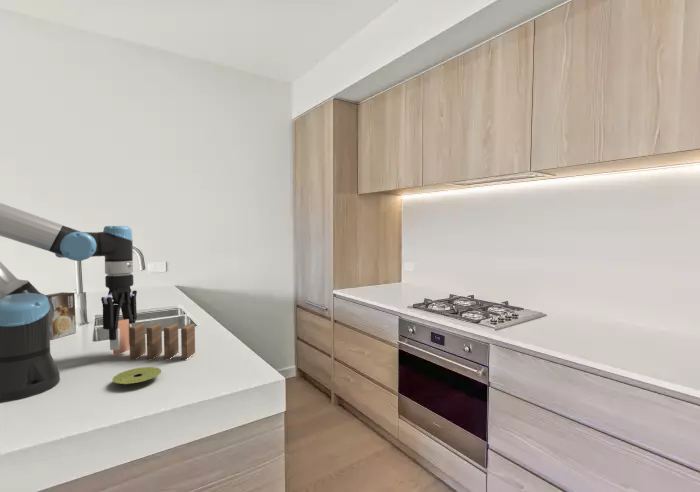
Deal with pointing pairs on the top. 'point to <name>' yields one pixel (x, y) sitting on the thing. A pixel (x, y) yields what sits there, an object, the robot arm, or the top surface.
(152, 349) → the domino
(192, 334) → the domino
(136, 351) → the domino
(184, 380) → the top surface
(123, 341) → the domino
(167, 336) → the domino
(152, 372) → the green round flat disc
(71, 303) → the coffee box
